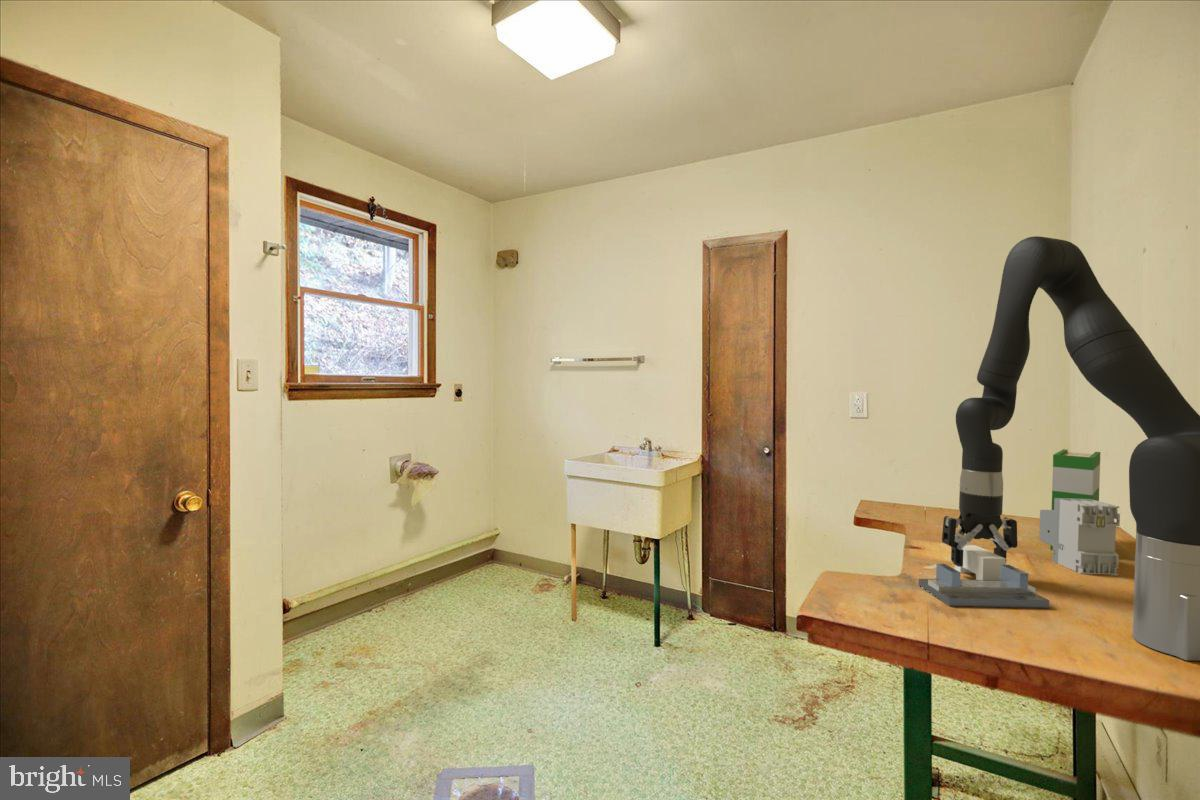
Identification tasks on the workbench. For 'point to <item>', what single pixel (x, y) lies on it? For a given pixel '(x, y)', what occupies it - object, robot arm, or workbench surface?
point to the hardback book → (1075, 476)
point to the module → (981, 563)
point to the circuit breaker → (1082, 534)
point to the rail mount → (984, 589)
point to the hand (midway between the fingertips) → (978, 566)
